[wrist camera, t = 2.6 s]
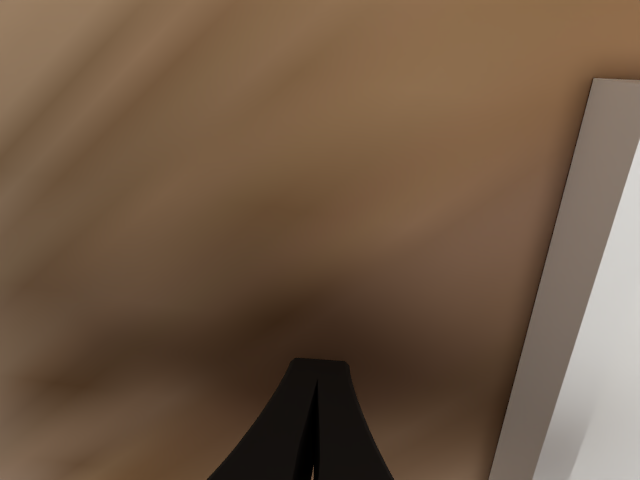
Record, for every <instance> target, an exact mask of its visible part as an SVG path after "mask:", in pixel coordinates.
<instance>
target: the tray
mask: <svg viewBox="0 0 640 480" xmlns="http://www.w3.org/2000/svg"><path fill="white" fill-rule="evenodd" d="M489 480H640V80H626V79H604V78H594V79H593V83H592V86H591V90H590V94H589V98H588V102H587V105H586V109H585V113H584V117H583V121H582V125H581V128H580V132H579V136H578V140H577V144H576V147H575V151H574V155H573V159H572V163H571V167H570V170H569V174H568V178H567V182H566V186H565V189H564V193H563V197H562V201H561V205H560V209H559V212H558V216H557V220H556V224H555V228H554V231H553V235H552V239H551V243H550V247H549V251H548V254H547V258H546V262H545V266H544V270H543V273H542V277H541V281H540V285H539V289H538V293H537V296H536V300H535V304H534V308H533V312H532V315H531V319H530V323H529V327H528V331H527V335H526V338H525V342H524V346H523V350H522V354H521V357H520V361H519V365H518V369H517V373H516V376H515V380H514V384H513V388H512V392H511V396H510V399H509V403H508V407H507V411H506V415H505V418H504V422H503V426H502V430H501V434H500V438H499V441H498V445H497V449H496V453H495V457H494V460H493V464H492V468H491V472H490V476H489Z"/></svg>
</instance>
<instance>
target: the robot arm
mask: <svg viewBox="0 0 640 480" xmlns="http://www.w3.org/2000/svg"><path fill="white" fill-rule="evenodd" d="M313 465H314V480H394V478H393V477H392V475H391V473H390V471H389V469H388V467H387V466H386V464H385V462H384V460H383V458H382V456H381V454H380V452H379V450H378V448H377V446H376V443H375V441H374V439H373V437H372V435H371V432H370V430H369V428H368V425H367V423H366V420H365V418H364V415H363V413H362V411H361V408H360V405H359V402H358V399H357V396H356V393H355V390H354V387H353V383H352V379H351V375H350V369H349V365H348V364H347V363H346V362H345V361H333V360H319V359H306V358H295V359H293V360H292V361H291V362H290V365H289V367H288V369H287V371H286V373H285V375H284V377H283V379H282V381H281V383H280V384H279V386H278V388H277V389H276V391H275V393H274V394H273V396H272V397H271V399H270V400H269V402H268V403H267V405H266V406H265V408H264V409H263V411H262V412H261V414H260V415H259V417H258V418H257V420H256V421H255V422H254V424H253V425H252V426H251V428H250V429H249V430H248V432H247V433H246V434H245V435H244V437H243V438H242V439H241V441H240V442H239V443H238V445H237V446H236V447H235V448H234V450H233V451H232V452H231V453H230V454H229V455H228V457H227V458H226V459H225V460H224V461H223V462H222V464H221V465H220V466H219V467H218V468H217V469H216V470H215V471H214V472H213V474H212V475H211V476H210V477H209V478H208V479H207V480H311V476H312V470H313Z"/></svg>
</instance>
